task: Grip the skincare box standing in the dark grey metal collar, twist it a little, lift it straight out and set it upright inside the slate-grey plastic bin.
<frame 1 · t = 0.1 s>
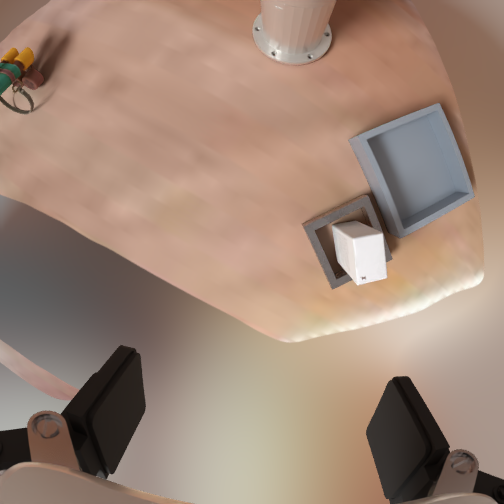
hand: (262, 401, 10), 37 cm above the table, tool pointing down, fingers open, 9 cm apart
green yellow looped piece: (32, 85, 41), on the table
collar: (346, 240, 46), on the table
skincare box: (346, 239, 46), resting in collar
bin: (409, 167, 42), on the table
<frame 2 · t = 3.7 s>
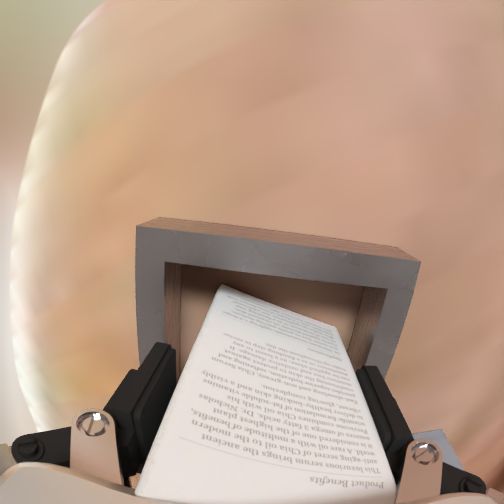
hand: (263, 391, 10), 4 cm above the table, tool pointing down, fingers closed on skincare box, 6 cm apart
collar: (265, 342, 14), on the table
skincare box: (265, 340, 14), resting in collar, touching gripper
bin: (313, 496, 17), on the table
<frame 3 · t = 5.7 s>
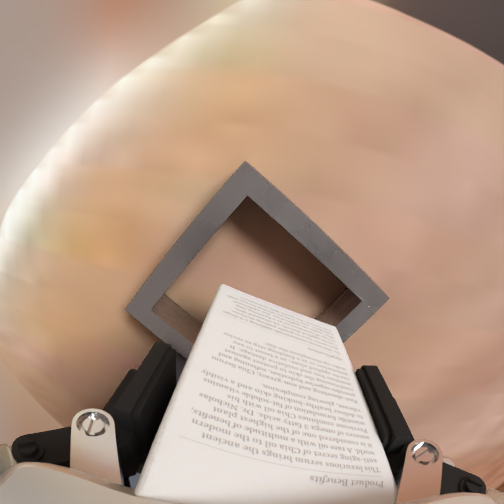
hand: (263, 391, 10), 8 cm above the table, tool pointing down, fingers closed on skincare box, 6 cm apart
collar: (255, 290, 18), on the table
skincare box: (265, 339, 14), point 4 cm above the table, touching gripper
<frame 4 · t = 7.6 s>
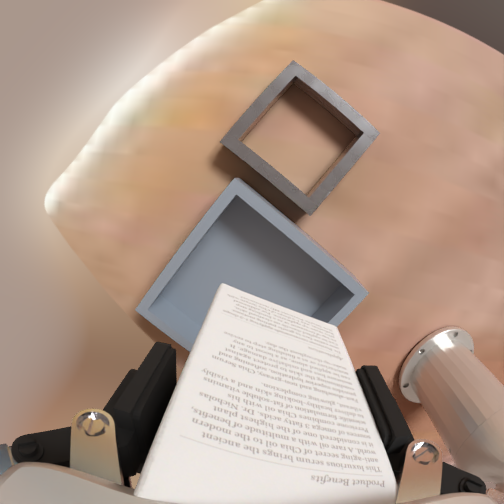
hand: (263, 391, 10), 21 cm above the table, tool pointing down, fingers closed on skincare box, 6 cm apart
collar: (299, 137, 28), on the table
skincare box: (265, 339, 14), point 17 cm above the table, touching gripper
bin: (250, 285, 32), on the table
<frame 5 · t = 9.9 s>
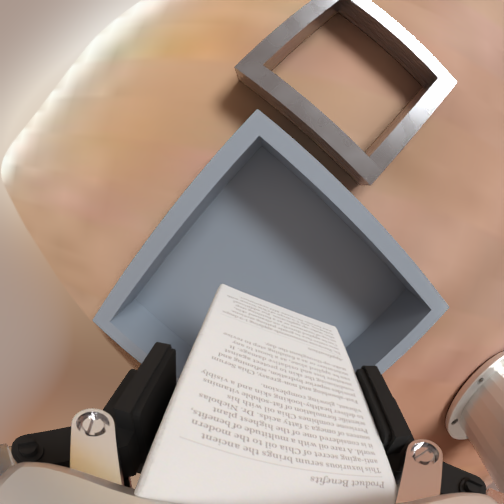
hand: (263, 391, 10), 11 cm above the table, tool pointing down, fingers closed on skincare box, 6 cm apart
collar: (349, 78, 17), on the table
skincare box: (265, 339, 14), point 7 cm above the table, touching gripper
bin: (270, 291, 21), on the table
when the fingers open (6 cm above the table, at t = 11.8 s): skincare box drops 1 cm, resting on bin.
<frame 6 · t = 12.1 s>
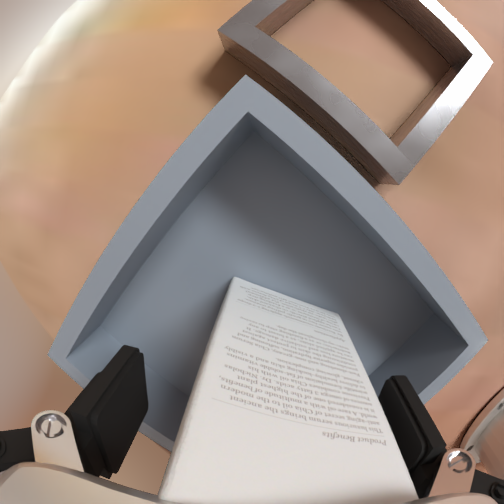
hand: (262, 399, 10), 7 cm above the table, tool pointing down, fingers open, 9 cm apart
collar: (365, 50, 13), on the table
skincare box: (274, 327, 16), point 1 cm above the table, touching bin
bin: (265, 319, 16), on the table
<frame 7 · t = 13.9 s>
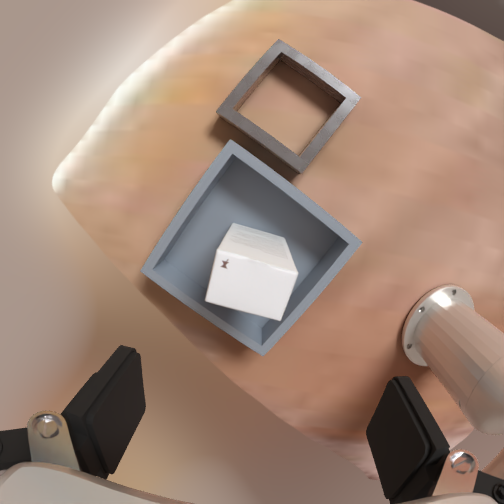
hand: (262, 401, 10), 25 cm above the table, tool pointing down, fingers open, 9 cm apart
collar: (288, 106, 30), on the table
skincare box: (254, 247, 33), point 1 cm above the table, touching bin
bin: (250, 245, 34), on the table
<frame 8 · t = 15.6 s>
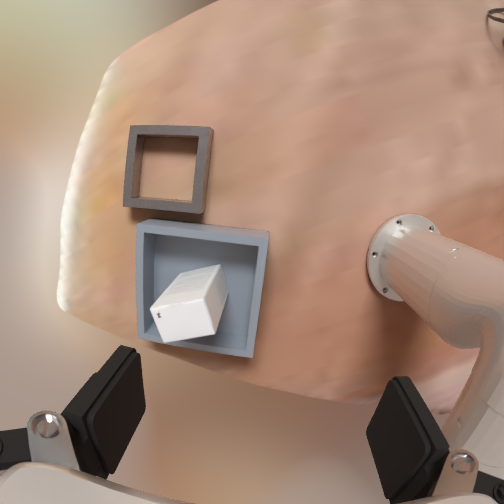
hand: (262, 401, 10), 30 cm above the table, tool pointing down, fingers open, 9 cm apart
collar: (169, 167, 38), on the table
skincare box: (205, 282, 40), point 1 cm above the table, touching bin
bin: (203, 281, 41), on the table
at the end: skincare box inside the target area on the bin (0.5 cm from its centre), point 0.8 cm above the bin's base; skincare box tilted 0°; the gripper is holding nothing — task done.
